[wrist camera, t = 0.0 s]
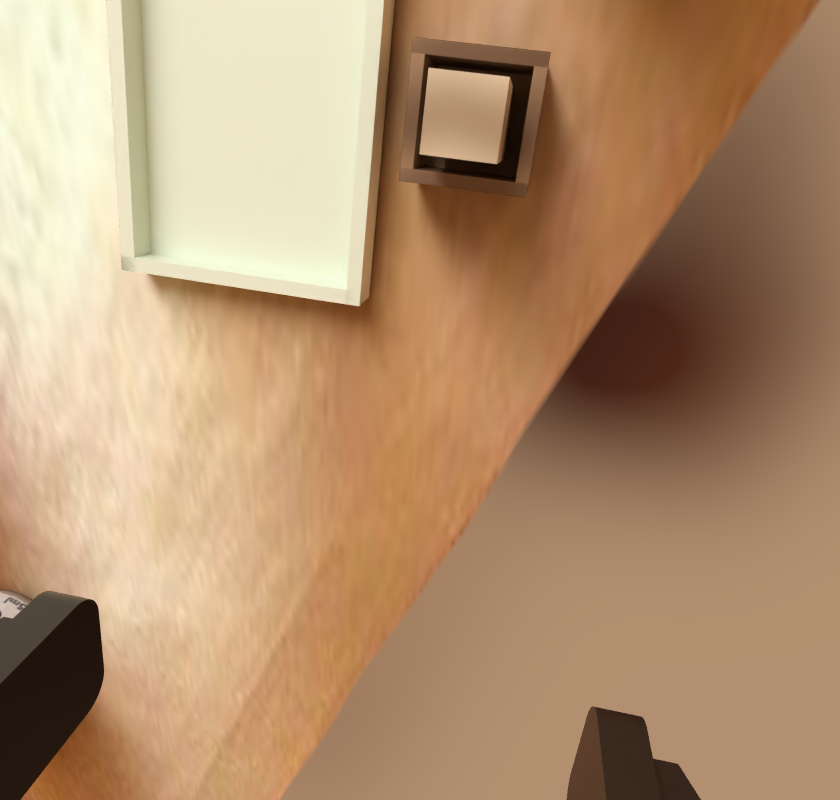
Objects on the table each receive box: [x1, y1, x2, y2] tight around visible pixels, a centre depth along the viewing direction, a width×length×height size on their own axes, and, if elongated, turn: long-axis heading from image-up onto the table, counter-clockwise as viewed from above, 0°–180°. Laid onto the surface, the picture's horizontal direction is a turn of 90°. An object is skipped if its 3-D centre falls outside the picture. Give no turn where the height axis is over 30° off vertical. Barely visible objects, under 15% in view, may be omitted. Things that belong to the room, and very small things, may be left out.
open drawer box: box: [399, 37, 551, 198], centre depth 32 cm, size 6×6×5 cm
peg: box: [419, 68, 515, 164], centre depth 30 cm, size 3×3×8 cm
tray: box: [106, 0, 395, 306], centre depth 34 cm, size 20×14×2 cm
